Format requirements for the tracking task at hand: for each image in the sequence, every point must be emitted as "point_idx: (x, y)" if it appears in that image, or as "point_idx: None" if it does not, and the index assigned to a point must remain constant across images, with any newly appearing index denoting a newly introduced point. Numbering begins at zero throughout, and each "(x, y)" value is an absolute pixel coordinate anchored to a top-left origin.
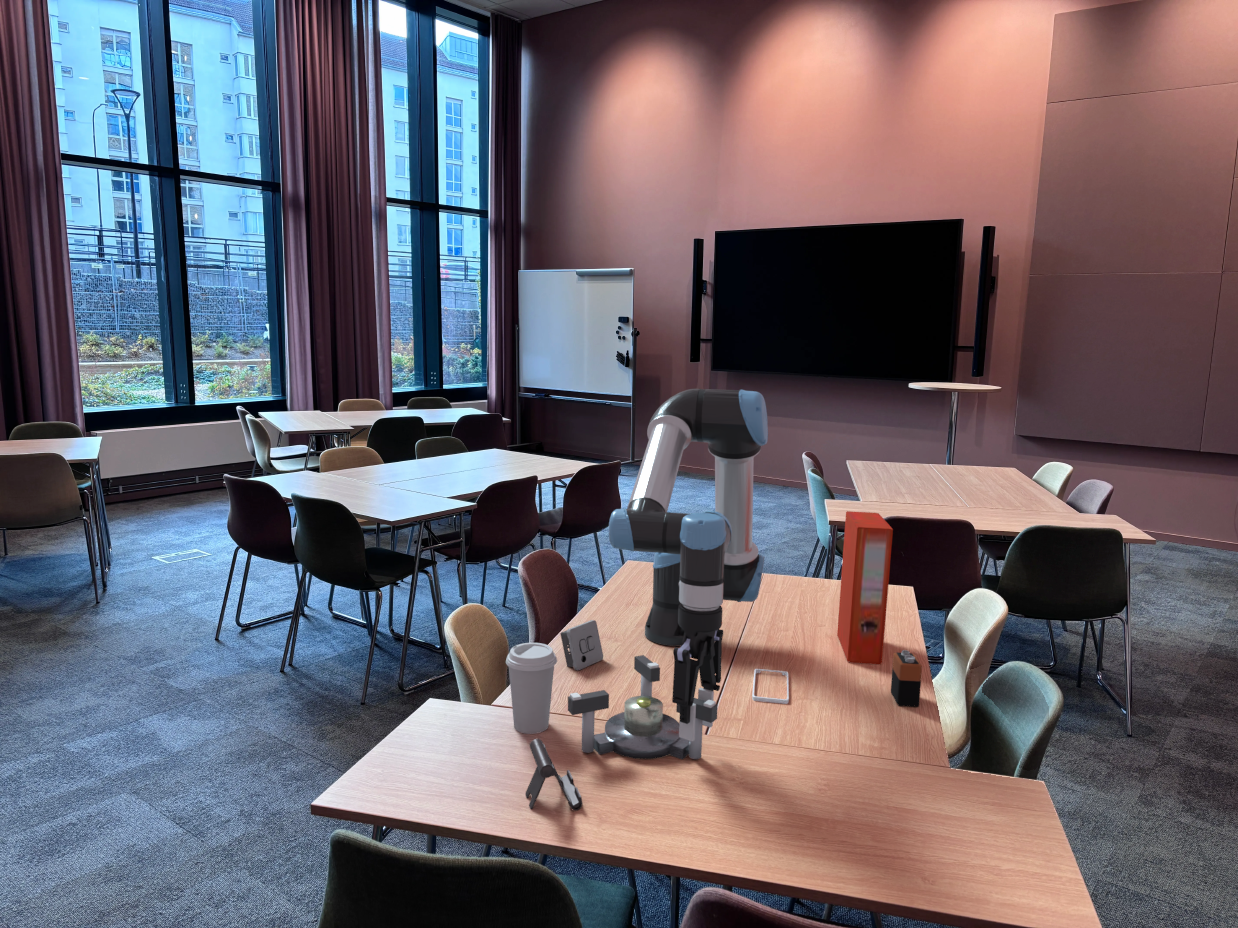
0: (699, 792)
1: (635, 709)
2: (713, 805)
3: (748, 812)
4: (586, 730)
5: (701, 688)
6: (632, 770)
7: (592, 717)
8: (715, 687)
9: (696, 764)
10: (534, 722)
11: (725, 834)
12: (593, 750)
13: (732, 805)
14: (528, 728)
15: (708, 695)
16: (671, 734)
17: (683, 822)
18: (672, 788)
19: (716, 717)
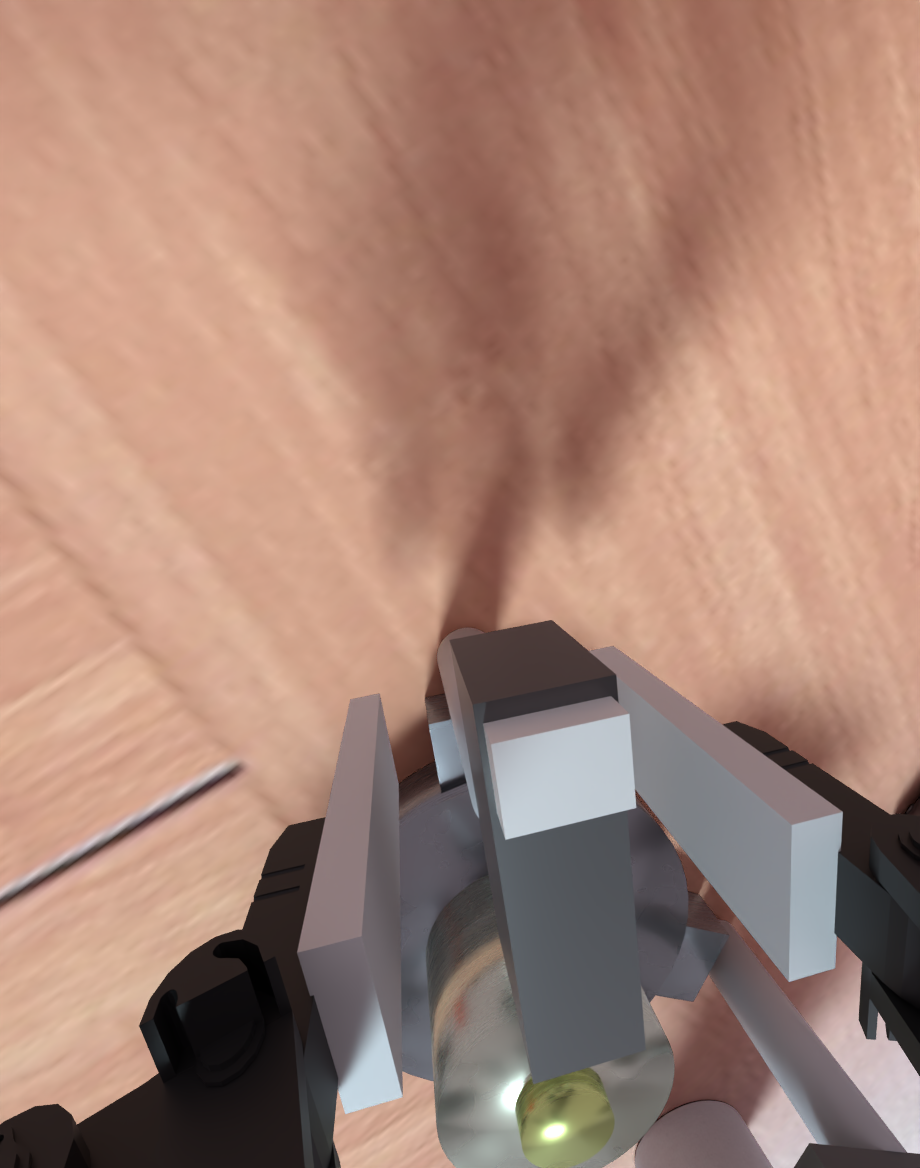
0: (686, 449)
1: (648, 1069)
2: (734, 335)
3: (689, 162)
4: (810, 1027)
5: (354, 1087)
6: None
7: (851, 1099)
8: (242, 1014)
9: (505, 610)
10: (757, 1159)
11: (887, 152)
12: None
13: (684, 264)
14: (751, 1134)
15: (372, 924)
16: (476, 823)
17: (900, 356)
18: (727, 552)
19: (464, 642)
